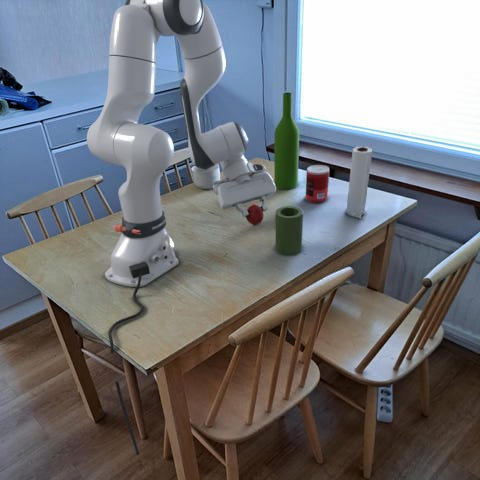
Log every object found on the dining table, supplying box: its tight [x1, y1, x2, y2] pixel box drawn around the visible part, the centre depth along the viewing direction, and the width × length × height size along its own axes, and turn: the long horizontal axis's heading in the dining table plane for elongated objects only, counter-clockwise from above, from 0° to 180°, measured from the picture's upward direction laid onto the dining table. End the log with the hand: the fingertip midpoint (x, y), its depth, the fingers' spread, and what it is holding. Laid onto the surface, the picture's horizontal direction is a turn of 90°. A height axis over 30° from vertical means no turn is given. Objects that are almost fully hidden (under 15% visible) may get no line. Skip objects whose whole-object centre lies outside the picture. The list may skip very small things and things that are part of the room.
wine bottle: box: [273, 92, 300, 190], centre depth 168 cm, size 9×9×32 cm
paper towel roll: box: [345, 146, 373, 220], centre depth 150 cm, size 7×6×21 cm
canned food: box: [305, 164, 330, 204], centre depth 164 cm, size 8×8×11 cm
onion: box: [245, 201, 265, 226], centre depth 151 cm, size 6×6×8 cm
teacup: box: [190, 163, 221, 190], centre depth 180 cm, size 14×11×8 cm
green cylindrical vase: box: [275, 205, 304, 256], centre depth 136 cm, size 8×8×12 cm
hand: (255, 213), depth 150 cm, fingers closed on onion, 5 cm apart
